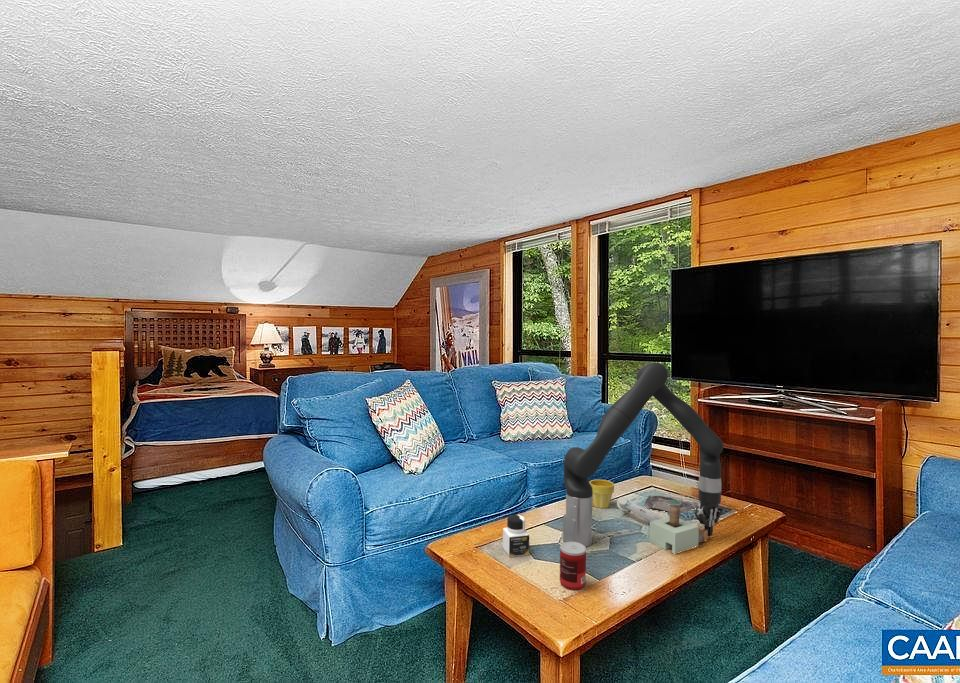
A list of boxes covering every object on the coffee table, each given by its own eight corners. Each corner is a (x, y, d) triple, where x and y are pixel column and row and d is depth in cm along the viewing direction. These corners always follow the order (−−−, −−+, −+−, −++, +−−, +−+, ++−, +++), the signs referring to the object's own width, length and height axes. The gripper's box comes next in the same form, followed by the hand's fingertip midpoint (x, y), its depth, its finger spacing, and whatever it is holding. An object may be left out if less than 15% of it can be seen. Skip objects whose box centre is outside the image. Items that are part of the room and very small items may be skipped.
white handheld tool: (670, 532, 178) (611, 501, 196) (673, 540, 182) (616, 508, 200) (676, 520, 180) (618, 490, 198) (680, 529, 184) (622, 498, 202)
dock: (674, 554, 165) (675, 533, 164) (649, 541, 174) (649, 521, 174) (698, 546, 170) (698, 526, 170) (672, 534, 180) (672, 515, 180)
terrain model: (642, 509, 206) (642, 502, 206) (648, 499, 219) (648, 492, 219) (694, 519, 196) (694, 511, 196) (697, 507, 210) (697, 500, 210)
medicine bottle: (509, 557, 161) (509, 521, 160) (502, 547, 168) (503, 513, 167) (529, 555, 163) (529, 519, 162) (521, 545, 170) (522, 511, 169)
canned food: (581, 576, 149) (582, 541, 149) (588, 590, 141) (589, 553, 141) (557, 576, 149) (557, 541, 149) (562, 590, 141) (563, 553, 141)
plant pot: (600, 499, 216) (600, 477, 216) (618, 506, 207) (619, 484, 207) (583, 504, 210) (584, 481, 210) (602, 511, 202) (602, 488, 201)
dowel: (674, 537, 170) (675, 509, 170) (666, 534, 173) (668, 506, 172) (680, 536, 172) (681, 508, 171) (673, 532, 174) (674, 505, 174)
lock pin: (682, 548, 168) (683, 537, 168) (677, 545, 171) (677, 534, 170) (707, 540, 175) (707, 529, 175) (701, 538, 177) (701, 527, 177)
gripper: (712, 482, 183) (710, 528, 183) (688, 488, 176) (687, 535, 177) (730, 488, 176) (729, 535, 177) (707, 494, 170) (705, 543, 170)
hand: (708, 535), depth 177 cm, fingers closed
